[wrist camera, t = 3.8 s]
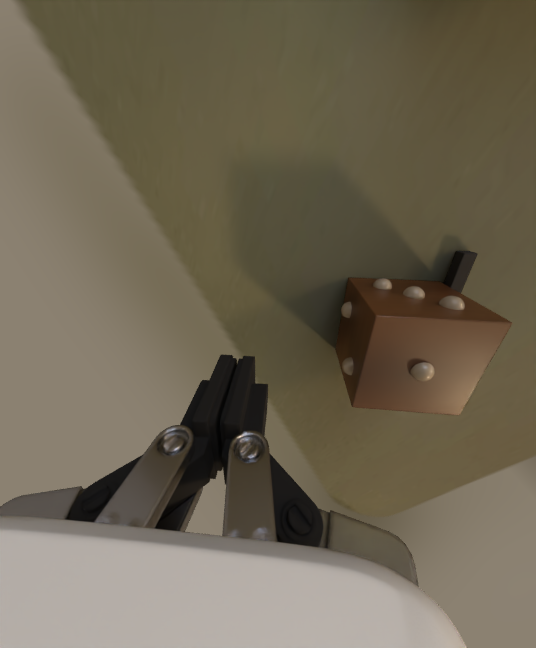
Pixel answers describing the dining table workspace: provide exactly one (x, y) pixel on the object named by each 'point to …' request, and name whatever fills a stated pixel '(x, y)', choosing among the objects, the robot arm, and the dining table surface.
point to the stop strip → (460, 269)
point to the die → (414, 345)
